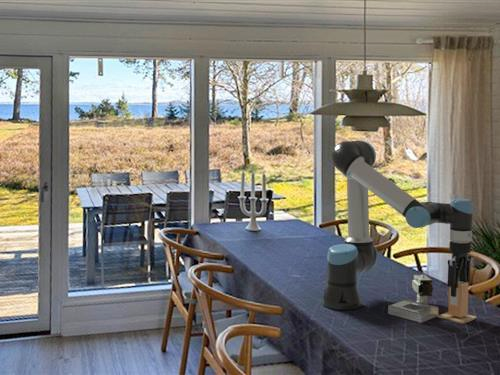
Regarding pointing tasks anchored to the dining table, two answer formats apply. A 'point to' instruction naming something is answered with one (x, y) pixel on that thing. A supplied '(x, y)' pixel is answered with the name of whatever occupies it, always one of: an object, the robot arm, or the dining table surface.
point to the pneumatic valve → (422, 287)
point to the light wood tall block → (460, 301)
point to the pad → (457, 318)
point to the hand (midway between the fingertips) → (457, 303)
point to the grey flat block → (413, 310)
